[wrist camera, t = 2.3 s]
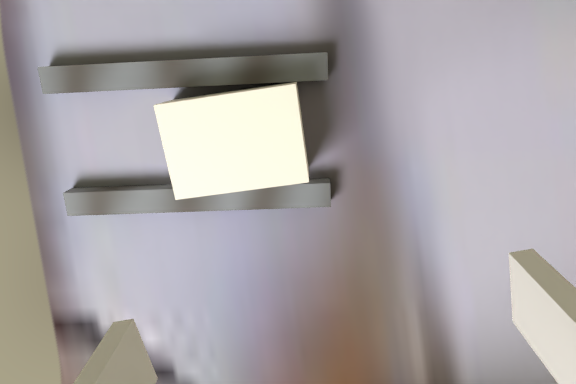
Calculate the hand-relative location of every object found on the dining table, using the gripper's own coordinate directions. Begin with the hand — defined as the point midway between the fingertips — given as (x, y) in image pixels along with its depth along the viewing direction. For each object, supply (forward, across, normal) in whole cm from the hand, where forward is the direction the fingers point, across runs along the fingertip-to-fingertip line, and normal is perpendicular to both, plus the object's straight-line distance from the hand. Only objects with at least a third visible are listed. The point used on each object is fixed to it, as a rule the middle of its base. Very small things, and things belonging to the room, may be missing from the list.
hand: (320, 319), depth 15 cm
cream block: (+22, +5, -3) cm, 23 cm away
